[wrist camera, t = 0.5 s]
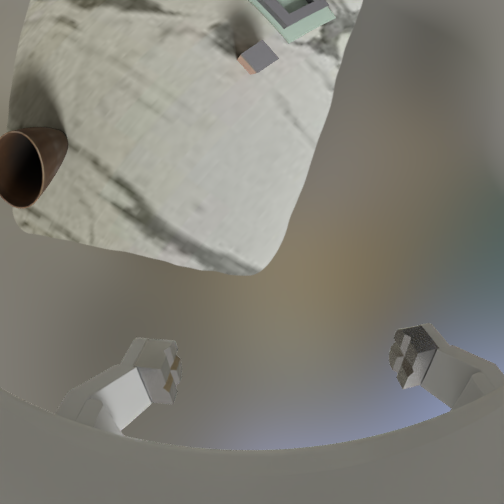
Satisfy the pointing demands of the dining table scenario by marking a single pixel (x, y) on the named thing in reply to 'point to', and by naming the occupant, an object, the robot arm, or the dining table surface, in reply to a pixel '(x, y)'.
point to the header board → (299, 25)
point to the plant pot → (29, 163)
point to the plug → (257, 57)
